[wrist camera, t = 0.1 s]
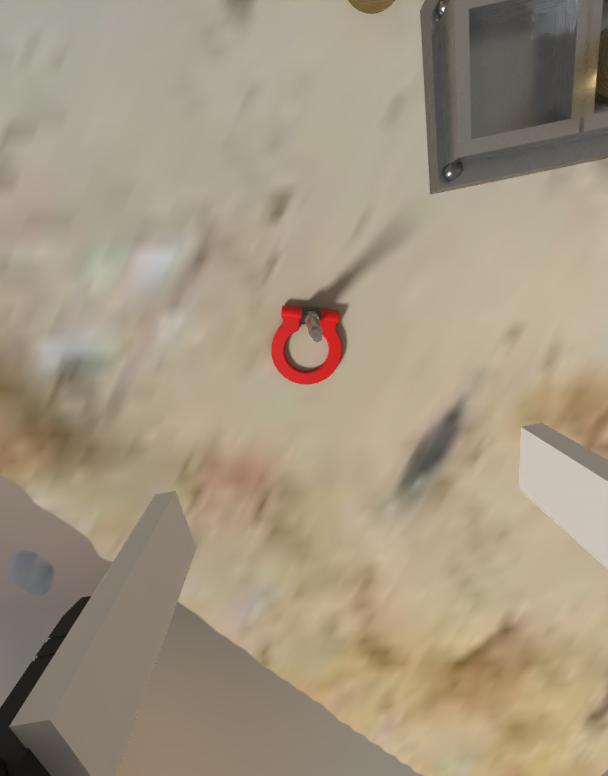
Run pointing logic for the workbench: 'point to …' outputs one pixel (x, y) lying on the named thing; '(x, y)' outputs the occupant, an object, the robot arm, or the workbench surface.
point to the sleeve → (371, 5)
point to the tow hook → (317, 326)
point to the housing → (513, 87)
